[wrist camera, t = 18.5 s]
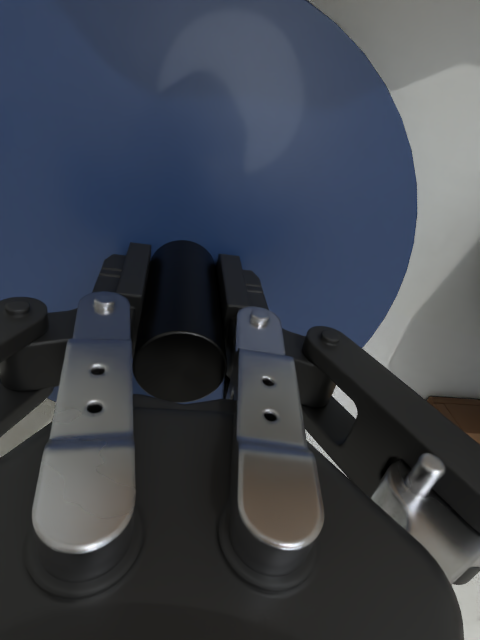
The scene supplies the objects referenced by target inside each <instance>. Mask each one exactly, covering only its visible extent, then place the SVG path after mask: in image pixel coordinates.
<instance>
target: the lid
mask: <svg viewBox="0 0 480 640" xmlns="http://www.w3.org/2000/svg"><path fill="white" fill-rule="evenodd" d="M416 219H417V182H416V176H415V170H414V163H413V157H412V151H411V147H410V144H409V141H408V138H407V134H406V131H405V128H404V125H403V122H402V118H401V116H400V114H399V112H398V110H397V108H396V106H395V104H394V101H393V99H392V97H391V95H390V93H389V91H388V89H387V87H386V85H385V83H384V82H383V80H382V79H381V77H380V76H379V74H378V73H377V72H376V70H375V69H374V67H373V66H372V64H371V63H370V61H369V60H368V58H367V57H366V55H365V54H364V53H363V51H362V50H361V49H360V48H359V47H358V46H357V45H356V44H355V43H354V42H353V41H352V40H351V39H350V38H349V36H348V35H347V34H346V33H345V32H344V31H343V30H342V29H341V28H340V27H339V26H338V25H337V24H336V23H335V22H334V21H333V20H331V19H330V18H329V17H328V16H326V15H325V14H324V13H323V12H321V11H320V10H319V9H317V8H316V7H315V6H314V5H312V4H311V3H310V2H309V1H307V0H0V300H3V299H7V298H12V297H31V298H35V299H38V300H40V301H42V302H43V303H45V305H46V306H47V310H48V313H50V312H61V311H69V310H73V309H76V308H78V303H79V300H80V299H81V298H82V297H83V296H85V295H87V294H90V293H92V291H93V289H94V286H95V283H96V281H97V278H98V276H99V273H100V270H101V268H102V265H103V262H104V260H105V259H107V258H108V257H110V256H111V255H113V254H118V255H127V251H128V248H129V244H130V242H133V243H141V244H149V245H151V261H150V267H149V273H148V279H147V285H146V291H145V297H144V303H143V309H142V314H141V320H140V323H139V328H138V334H137V340H136V345H135V351H134V357H133V359H132V388H133V394H143V395H147V396H151V397H155V398H159V399H163V400H167V401H171V402H175V403H179V404H189V403H196V402H203V401H210V400H217V399H221V395H222V382H223V380H224V378H225V376H226V372H227V357H226V349H225V340H224V332H223V324H222V316H221V307H220V299H219V291H218V283H217V274H216V265H217V259H218V255H219V254H227V255H235V256H239V257H240V261H241V265H242V269H243V270H251V271H253V272H254V273H255V274H256V275H257V276H258V277H259V279H260V282H261V285H262V289H263V294H264V295H265V299H266V302H267V305H268V309H269V310H270V311H272V312H273V313H275V314H276V315H277V316H278V317H279V318H280V320H281V324H282V328H283V329H285V330H287V331H290V332H293V333H296V334H299V335H303V336H306V334H307V332H308V330H309V329H310V328H312V327H315V326H326V327H330V328H333V329H336V330H338V331H340V332H342V333H343V334H345V335H346V336H347V337H348V338H350V339H351V340H352V341H353V342H354V343H356V344H357V345H358V346H359V347H361V348H362V347H363V346H364V345H365V344H366V343H367V342H368V340H369V339H370V338H371V337H372V335H373V334H374V332H375V331H376V330H377V328H378V327H379V325H380V324H381V322H382V321H383V320H384V318H385V316H386V315H387V313H388V311H389V309H390V307H391V305H392V303H393V302H394V300H395V298H396V296H397V294H398V291H399V289H400V286H401V284H402V281H403V278H404V276H405V273H406V271H407V267H408V263H409V259H410V256H411V252H412V248H413V244H414V236H415V228H416ZM58 389H59V386H57V387H54V390H53V392H52V393H51V395H50V396H49V397H47V398H48V399H50V400H52V401H54V402H56V400H57V395H58Z"/></svg>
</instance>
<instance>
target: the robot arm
mask: <svg viewBox="0 0 480 640" xmlns="http://www.w3.org/2000/svg"><path fill="white" fill-rule="evenodd" d="M150 261H151V245H149V244H141V243H133V242H130V244H129V248H128V251H127V255H118V254H113V255H111V256H110V257H108V258H107V259H105V260H104V262H103V265H102V268H101V270H100V273H99V276H98V278H97V281H96V283H95V286H94V289H93V291H92V293H90V294H87V295H85V296H83V297H82V298H81V299H80V300H79V303H78V308H76V309H73V310H69V311H61V312H50V313H48V310H47V306H46V305H45V303H43V302H42V301H40V300H38V299H35V298H31V297H12V298H7V299H3V300H0V437H1V436H2V435H4V434H5V433H6V432H7V431H8V430H9V429H11V428H12V427H13V426H14V425H15V424H17V423H18V422H19V421H20V420H21V419H23V418H24V417H25V416H26V415H27V414H28V413H30V412H31V411H32V410H33V409H34V408H36V407H37V406H38V405H39V404H40V403H41V402H43V401H44V400H45V399H46V398H47V397H49V396H50V395H51V393H52V392H53V390H54V387H57V386H59V389H58V395H57V400H56V405H55V411H54V416H53V421H52V422H51V423H49V424H48V425H46V426H45V427H44V428H42V429H41V430H39V431H38V432H37V433H35V434H34V435H32V436H31V437H29V438H28V439H27V440H25V441H24V442H22V443H21V444H20V445H18V446H17V447H15V448H14V449H12V450H11V451H10V452H8V453H7V454H5V455H4V456H3V457H1V458H0V640H464V632H463V621H462V616H461V611H460V607H459V604H458V601H457V598H456V595H455V592H454V590H453V588H452V586H451V585H452V584H456V585H462V584H465V583H467V582H469V581H470V580H471V579H472V578H473V577H474V576H475V575H476V574H477V573H478V572H479V571H480V444H479V443H478V442H476V441H475V440H474V439H473V438H471V437H470V436H469V435H468V434H466V433H465V432H464V431H463V430H462V429H460V428H459V427H458V426H457V425H455V424H454V423H453V422H452V421H450V420H449V419H448V418H447V417H446V416H444V415H443V414H442V413H441V412H439V411H438V410H437V409H436V408H434V407H433V406H432V405H431V404H430V403H428V402H427V401H426V400H425V399H423V398H422V397H421V396H420V395H418V394H417V393H416V392H415V391H414V390H412V389H411V388H410V387H409V386H407V385H406V384H405V383H404V382H402V381H401V380H400V379H399V378H398V377H396V376H395V375H394V374H393V373H391V372H390V371H389V370H388V369H386V368H385V367H384V366H383V365H382V364H380V363H379V362H378V361H377V360H375V359H374V358H373V357H372V356H370V355H369V354H368V353H367V352H366V351H364V350H363V349H362V348H361V347H359V346H358V345H357V344H356V343H354V342H353V341H352V340H351V339H350V338H348V337H347V336H346V335H345V334H343V333H342V332H340V331H338V330H336V329H333V328H330V327H326V326H315V327H312V328H310V329H309V330H308V332H307V334H306V336H303V335H299V334H296V333H293V332H290V331H287V330H285V329H283V328H282V324H281V320H280V318H279V317H278V316H277V315H276V314H275V313H273V312H272V311H270V310H269V309H268V305H267V302H266V299H265V295H264V294H263V289H262V285H261V282H260V279H259V277H258V276H257V275H256V274H255V273H254V272H253V271H251V270H243V269H242V265H241V261H240V257H239V256H235V255H227V254H219V255H218V259H217V265H216V274H217V283H218V291H219V299H220V307H221V316H222V324H223V332H224V340H225V349H226V357H227V372H226V376H225V378H224V380H223V382H222V395H221V399H217V400H210V401H203V402H196V403H189V404H179V403H175V402H171V401H167V400H163V399H159V398H155V397H151V396H147V395H143V394H133V388H132V359H133V357H134V351H135V345H136V340H137V334H138V328H139V323H140V320H141V314H142V309H143V303H144V297H145V291H146V285H147V279H148V273H149V267H150ZM336 385H337V386H338V387H339V388H340V389H341V390H342V391H343V392H344V393H345V394H347V395H348V396H349V397H350V398H351V399H352V400H353V402H354V403H355V405H356V407H357V411H358V415H357V418H356V419H355V418H354V417H353V416H352V415H351V414H350V413H349V412H348V411H347V410H346V409H345V408H344V407H343V406H342V405H341V404H340V403H339V402H338V401H336V400H335V399H334V398H333V397H332V393H333V391H334V389H335V386H336ZM305 429H306V430H307V432H308V433H309V434H310V435H311V436H312V437H313V438H314V439H315V441H316V442H317V443H318V444H319V445H320V446H321V447H322V448H323V450H324V451H325V452H326V453H327V454H328V455H329V456H330V457H331V459H332V460H333V461H334V462H335V463H336V464H337V465H338V467H339V468H340V469H341V470H342V471H343V472H344V473H345V474H346V476H347V477H346V476H345V475H344V474H343V473H342V472H341V471H340V470H339V469H338V468H336V467H335V466H334V465H333V464H332V463H331V462H330V461H329V460H328V459H327V458H325V457H324V456H323V455H322V454H321V453H320V452H319V451H318V450H317V449H315V448H314V447H313V446H312V445H311V444H310V443H309V442H308V441H307V440H306V434H305Z"/></svg>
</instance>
